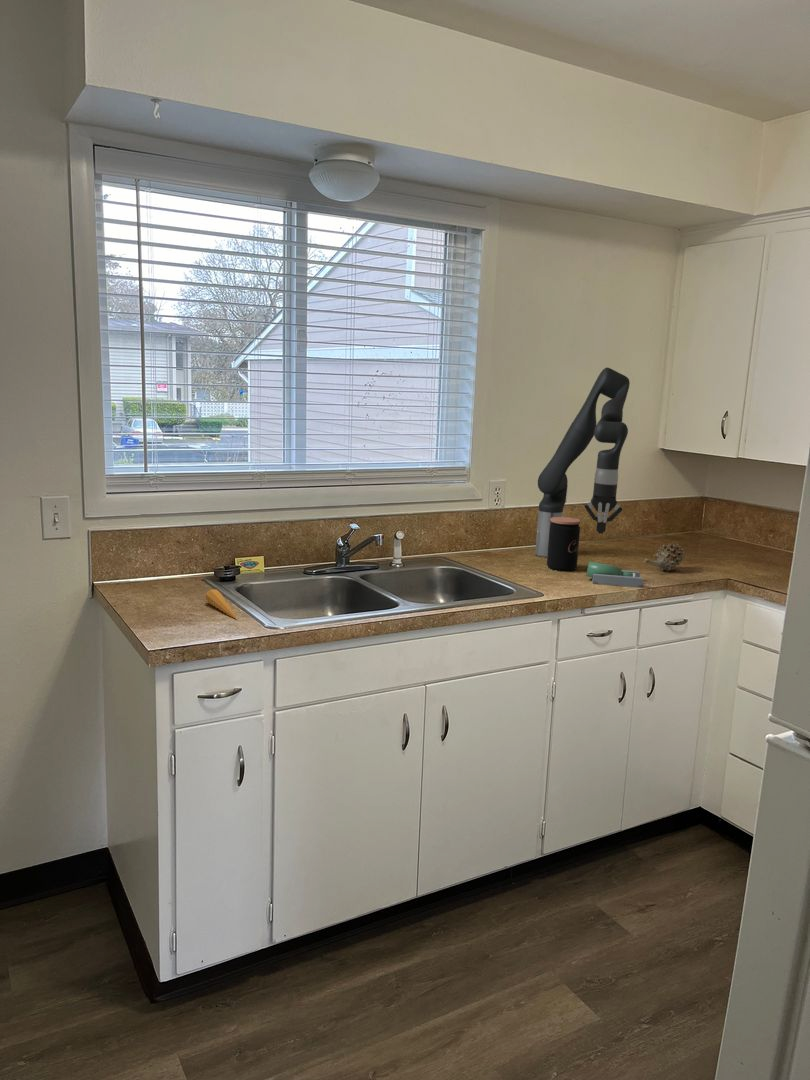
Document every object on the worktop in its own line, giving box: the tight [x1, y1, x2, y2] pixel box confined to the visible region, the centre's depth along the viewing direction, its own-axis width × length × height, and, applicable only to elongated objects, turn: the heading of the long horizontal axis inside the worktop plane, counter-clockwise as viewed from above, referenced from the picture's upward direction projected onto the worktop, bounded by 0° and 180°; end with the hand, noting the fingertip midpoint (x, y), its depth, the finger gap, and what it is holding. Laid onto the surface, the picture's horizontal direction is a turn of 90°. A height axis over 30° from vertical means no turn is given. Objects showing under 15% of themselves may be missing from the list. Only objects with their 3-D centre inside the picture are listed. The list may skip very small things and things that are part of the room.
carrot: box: [205, 589, 238, 620], centre depth 227 cm, size 20×4×4 cm, turn 33°
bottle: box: [586, 561, 636, 578], centre depth 279 cm, size 5×5×16 cm
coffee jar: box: [546, 516, 581, 572], centre depth 294 cm, size 11×11×18 cm
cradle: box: [591, 569, 644, 589], centre depth 279 cm, size 16×11×3 cm
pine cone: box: [643, 542, 685, 572], centre depth 297 cm, size 22×10×10 cm, turn 135°
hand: (600, 533), depth 277 cm, fingers closed
